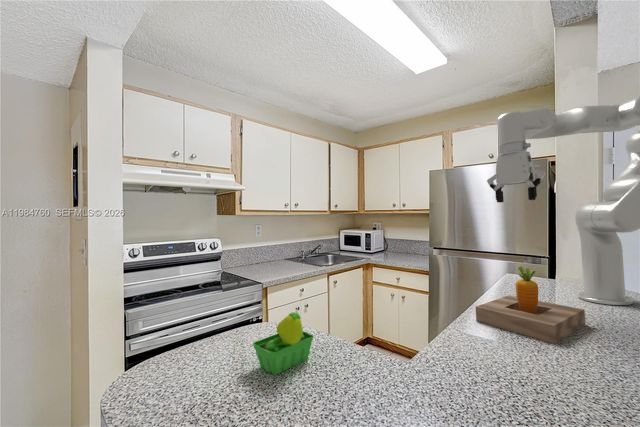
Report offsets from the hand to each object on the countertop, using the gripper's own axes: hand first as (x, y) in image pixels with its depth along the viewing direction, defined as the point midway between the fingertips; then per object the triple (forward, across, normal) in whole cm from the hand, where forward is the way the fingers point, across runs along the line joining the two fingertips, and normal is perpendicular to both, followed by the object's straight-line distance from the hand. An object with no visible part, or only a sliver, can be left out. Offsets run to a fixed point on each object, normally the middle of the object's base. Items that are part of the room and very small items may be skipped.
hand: (515, 201), depth 95 cm
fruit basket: (+34, +9, +81) cm, 88 cm away
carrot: (+34, -10, +19) cm, 40 cm away
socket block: (+33, -10, +19) cm, 40 cm away
